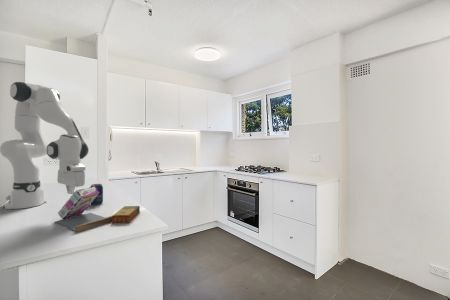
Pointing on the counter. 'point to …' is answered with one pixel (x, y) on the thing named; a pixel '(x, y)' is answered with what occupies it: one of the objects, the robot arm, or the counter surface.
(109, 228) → the counter surface
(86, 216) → the mat
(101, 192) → the soda can
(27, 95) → the robot arm
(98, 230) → the counter surface
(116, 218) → the carton
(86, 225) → the stop rail
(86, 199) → the candy bar box
